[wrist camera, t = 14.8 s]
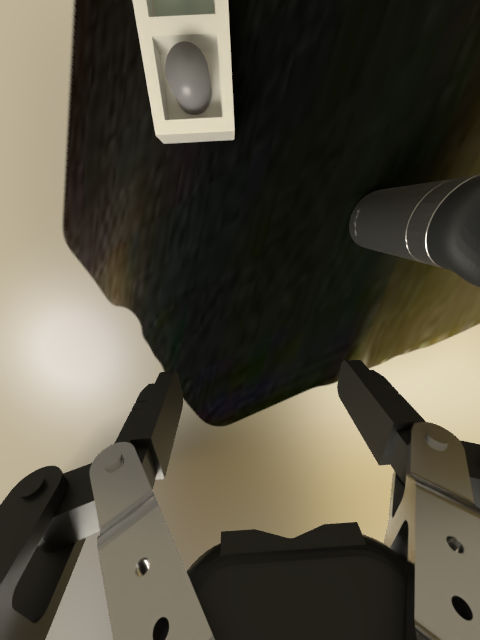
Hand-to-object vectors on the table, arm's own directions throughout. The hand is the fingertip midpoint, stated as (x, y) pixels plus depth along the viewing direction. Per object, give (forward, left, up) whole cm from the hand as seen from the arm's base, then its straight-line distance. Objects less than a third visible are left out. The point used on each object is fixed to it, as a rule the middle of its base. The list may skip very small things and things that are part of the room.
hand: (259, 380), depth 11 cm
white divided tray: (+5, -27, -33) cm, 43 cm away
